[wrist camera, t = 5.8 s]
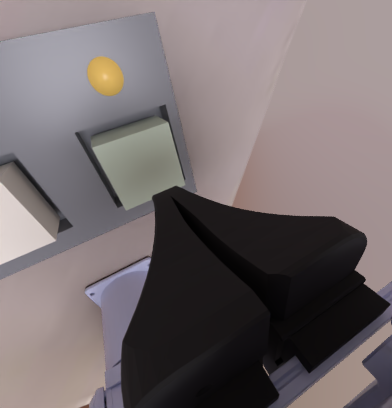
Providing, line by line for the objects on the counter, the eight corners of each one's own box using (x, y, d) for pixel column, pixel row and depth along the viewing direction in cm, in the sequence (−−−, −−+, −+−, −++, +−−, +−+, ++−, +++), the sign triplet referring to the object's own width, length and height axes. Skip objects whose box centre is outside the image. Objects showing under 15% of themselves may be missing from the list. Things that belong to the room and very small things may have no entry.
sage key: (172, 171, 18) (185, 185, 16) (120, 192, 17) (125, 210, 15) (155, 115, 15) (168, 122, 13) (90, 136, 14) (91, 148, 12)
